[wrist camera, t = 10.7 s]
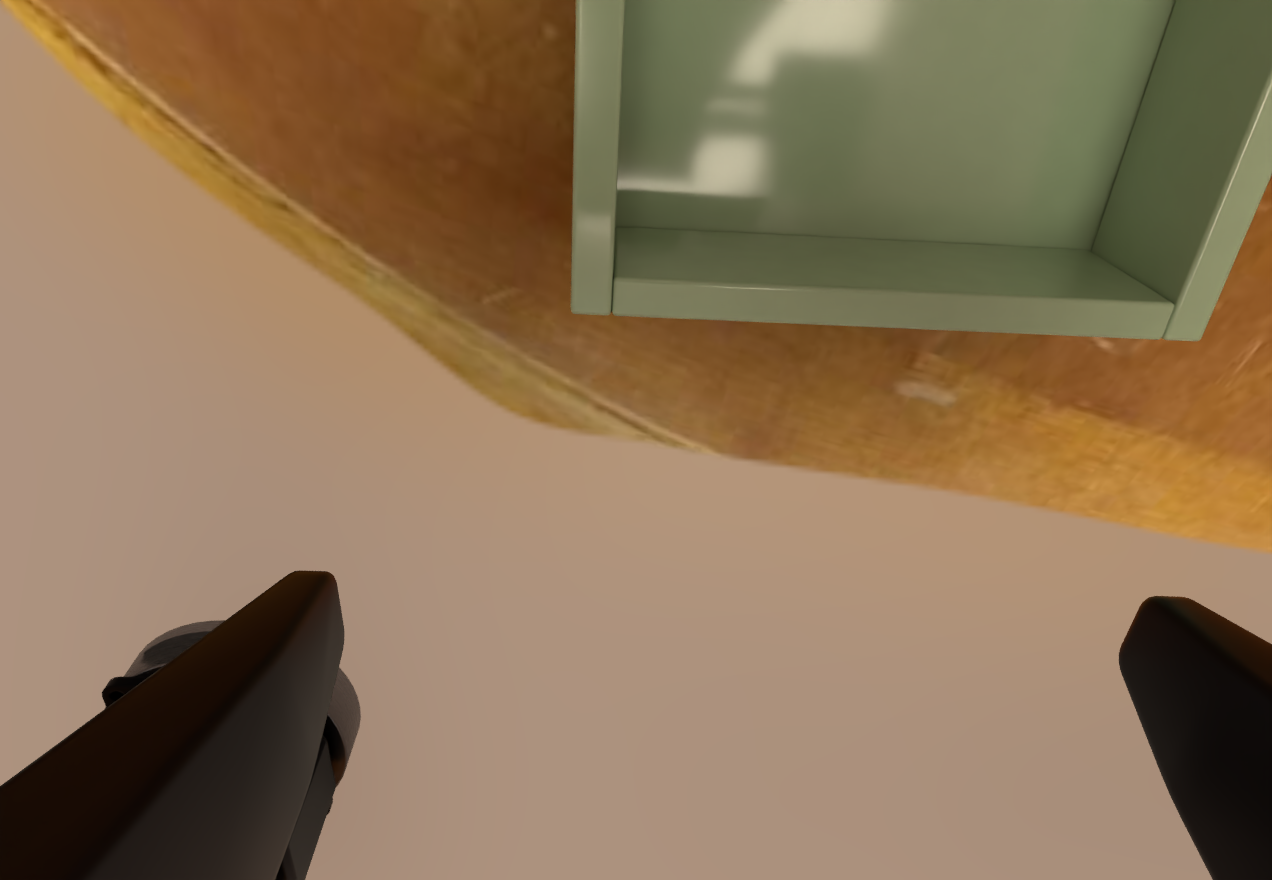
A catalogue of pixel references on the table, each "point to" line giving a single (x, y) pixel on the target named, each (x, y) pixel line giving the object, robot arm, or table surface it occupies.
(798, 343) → the table surface
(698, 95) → the tray
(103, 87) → the table surface
